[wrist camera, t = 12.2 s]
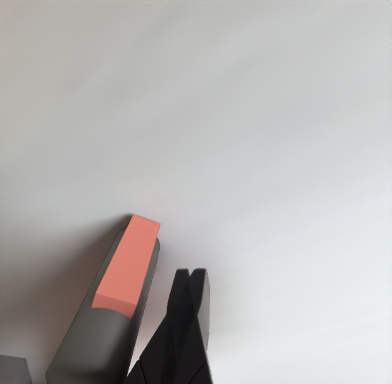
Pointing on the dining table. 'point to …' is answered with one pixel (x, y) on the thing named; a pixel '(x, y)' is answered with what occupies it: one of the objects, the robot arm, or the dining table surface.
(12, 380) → the grey taped parcel
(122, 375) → the gate
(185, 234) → the dining table surface
